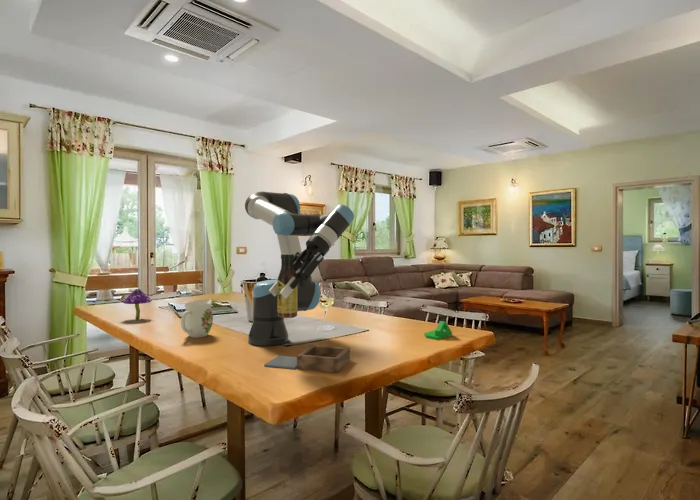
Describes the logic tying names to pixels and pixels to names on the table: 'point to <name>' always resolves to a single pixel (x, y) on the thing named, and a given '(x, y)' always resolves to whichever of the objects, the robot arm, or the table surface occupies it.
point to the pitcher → (197, 318)
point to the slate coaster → (283, 362)
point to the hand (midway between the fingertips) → (277, 294)
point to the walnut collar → (323, 358)
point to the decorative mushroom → (137, 300)
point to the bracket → (439, 331)
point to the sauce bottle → (289, 305)
